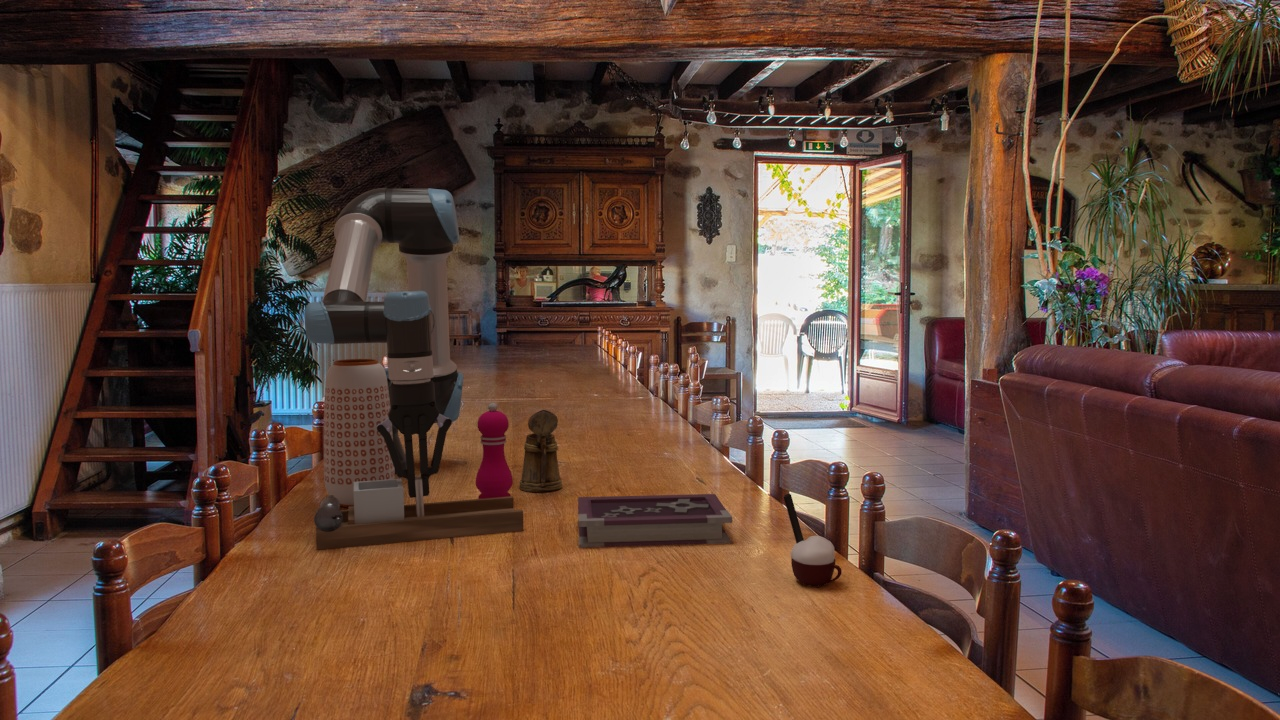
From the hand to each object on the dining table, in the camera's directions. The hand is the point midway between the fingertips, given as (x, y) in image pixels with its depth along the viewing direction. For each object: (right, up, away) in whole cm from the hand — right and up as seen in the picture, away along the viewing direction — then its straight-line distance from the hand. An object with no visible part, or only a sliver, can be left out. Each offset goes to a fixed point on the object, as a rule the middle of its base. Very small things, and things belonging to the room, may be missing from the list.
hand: (420, 514), depth 152 cm
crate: (-7, -1, -2) cm, 7 cm away
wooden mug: (+18, 0, +30) cm, 35 cm away
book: (+40, -4, -1) cm, 41 cm away
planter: (-17, -1, +20) cm, 27 cm away
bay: (0, -3, 0) cm, 3 cm away
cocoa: (+63, -5, -26) cm, 69 cm away
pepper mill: (+10, -1, +19) cm, 21 cm away
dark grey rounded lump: (-14, -2, -6) cm, 15 cm away
